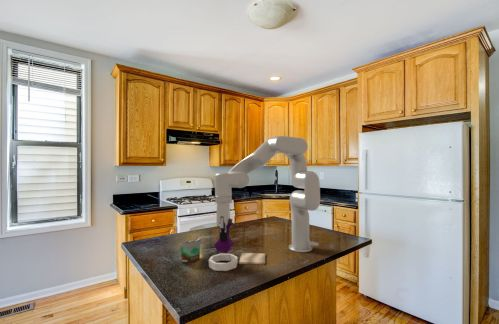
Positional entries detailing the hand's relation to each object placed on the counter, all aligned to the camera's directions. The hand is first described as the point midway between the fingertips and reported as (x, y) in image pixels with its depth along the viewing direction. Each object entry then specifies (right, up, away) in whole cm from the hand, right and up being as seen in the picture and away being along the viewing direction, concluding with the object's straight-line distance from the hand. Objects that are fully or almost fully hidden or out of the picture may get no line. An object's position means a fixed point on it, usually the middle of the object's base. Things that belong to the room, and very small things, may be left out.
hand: (224, 238), depth 118 cm
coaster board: (+13, -12, +7) cm, 19 cm away
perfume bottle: (0, -6, 0) cm, 6 cm away
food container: (-15, -12, +5) cm, 20 cm away
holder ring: (-1, -12, 0) cm, 12 cm away
